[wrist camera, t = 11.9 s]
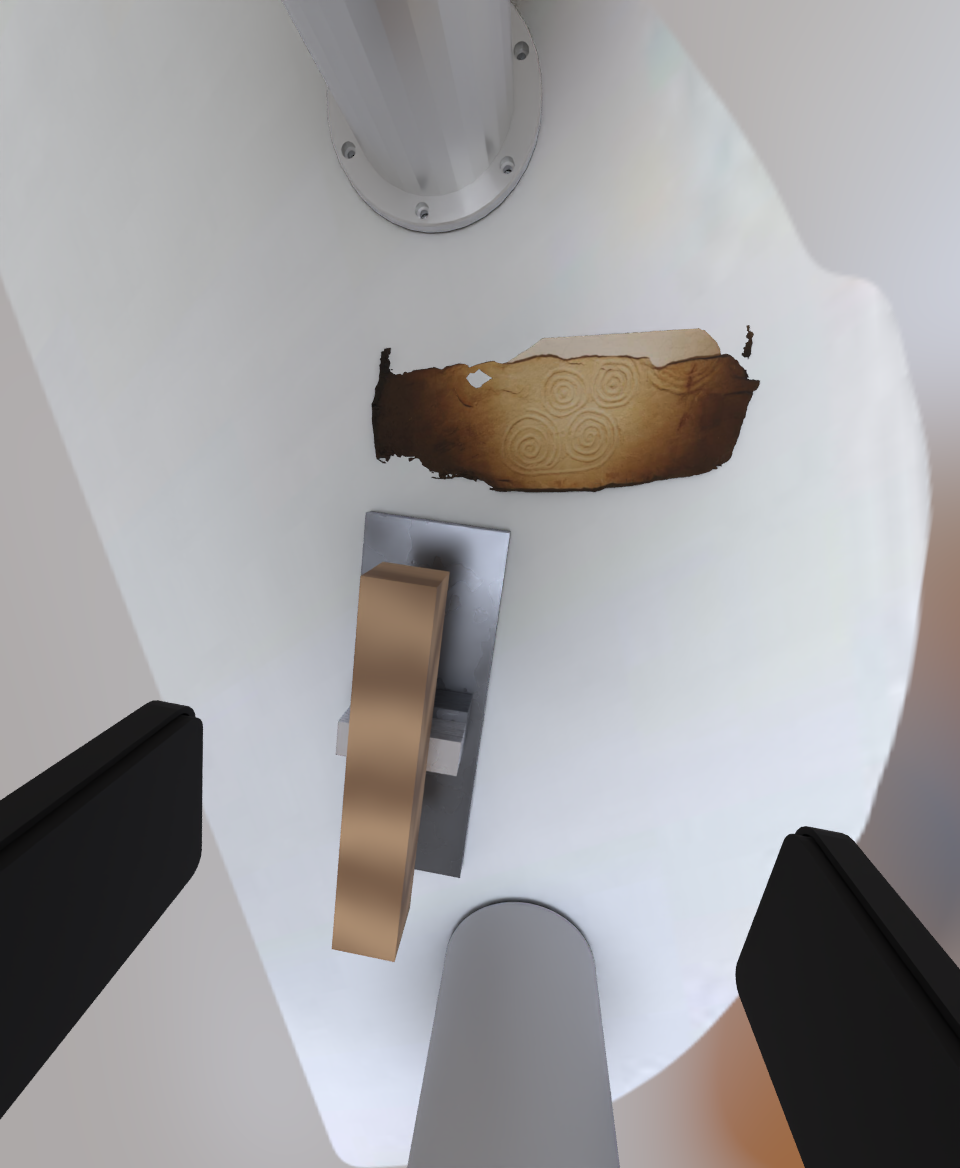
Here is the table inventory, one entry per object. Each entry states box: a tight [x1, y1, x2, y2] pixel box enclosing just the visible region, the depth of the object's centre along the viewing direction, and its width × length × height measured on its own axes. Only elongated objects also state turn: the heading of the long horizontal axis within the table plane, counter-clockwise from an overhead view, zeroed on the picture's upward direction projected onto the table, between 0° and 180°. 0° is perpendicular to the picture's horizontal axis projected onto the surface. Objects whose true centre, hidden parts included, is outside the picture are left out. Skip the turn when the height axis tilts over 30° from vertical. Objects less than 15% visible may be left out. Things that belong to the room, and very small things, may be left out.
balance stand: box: [336, 511, 511, 878], centre depth 36 cm, size 28×10×7 cm, turn 172°
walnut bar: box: [332, 562, 450, 962], centre depth 31 cm, size 24×4×4 cm, turn 173°
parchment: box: [372, 325, 760, 492], centre depth 33 cm, size 25×10×1 cm, turn 91°
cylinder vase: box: [407, 902, 620, 1168], centre depth 31 cm, size 12×12×25 cm
